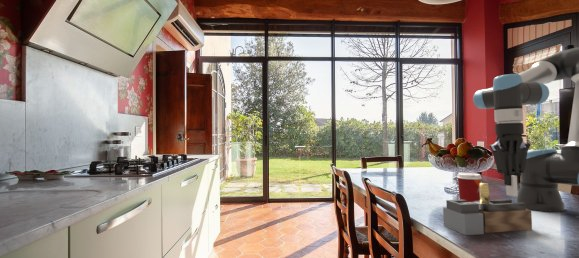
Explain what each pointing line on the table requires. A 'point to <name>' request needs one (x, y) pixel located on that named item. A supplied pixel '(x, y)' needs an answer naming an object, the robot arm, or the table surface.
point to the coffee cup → (469, 186)
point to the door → (506, 216)
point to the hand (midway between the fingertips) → (511, 195)
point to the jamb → (463, 217)
